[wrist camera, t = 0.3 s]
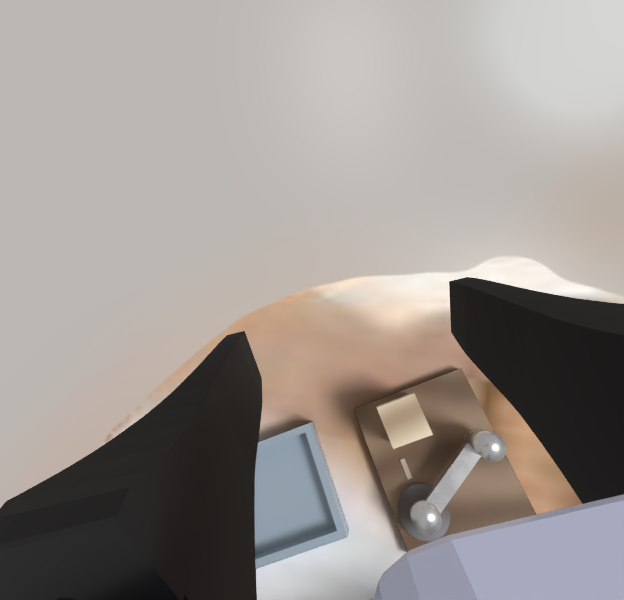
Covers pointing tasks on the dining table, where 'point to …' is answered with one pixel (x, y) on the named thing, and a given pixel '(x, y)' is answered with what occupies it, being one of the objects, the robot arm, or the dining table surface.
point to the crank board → (442, 462)
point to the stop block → (404, 420)
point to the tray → (294, 497)
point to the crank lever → (455, 478)
